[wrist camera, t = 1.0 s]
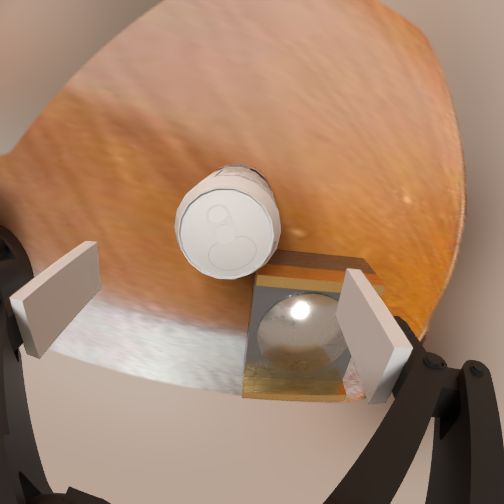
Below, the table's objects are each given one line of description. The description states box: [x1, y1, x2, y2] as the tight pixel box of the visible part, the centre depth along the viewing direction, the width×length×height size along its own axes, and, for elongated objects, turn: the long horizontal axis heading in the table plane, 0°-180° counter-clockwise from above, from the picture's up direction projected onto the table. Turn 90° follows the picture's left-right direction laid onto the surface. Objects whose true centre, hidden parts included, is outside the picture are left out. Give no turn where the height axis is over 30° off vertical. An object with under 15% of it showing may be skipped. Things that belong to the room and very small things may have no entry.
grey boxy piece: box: [242, 250, 385, 401], centre depth 38 cm, size 14×18×8 cm
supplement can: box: [175, 164, 281, 279], centre depth 29 cm, size 8×8×15 cm
